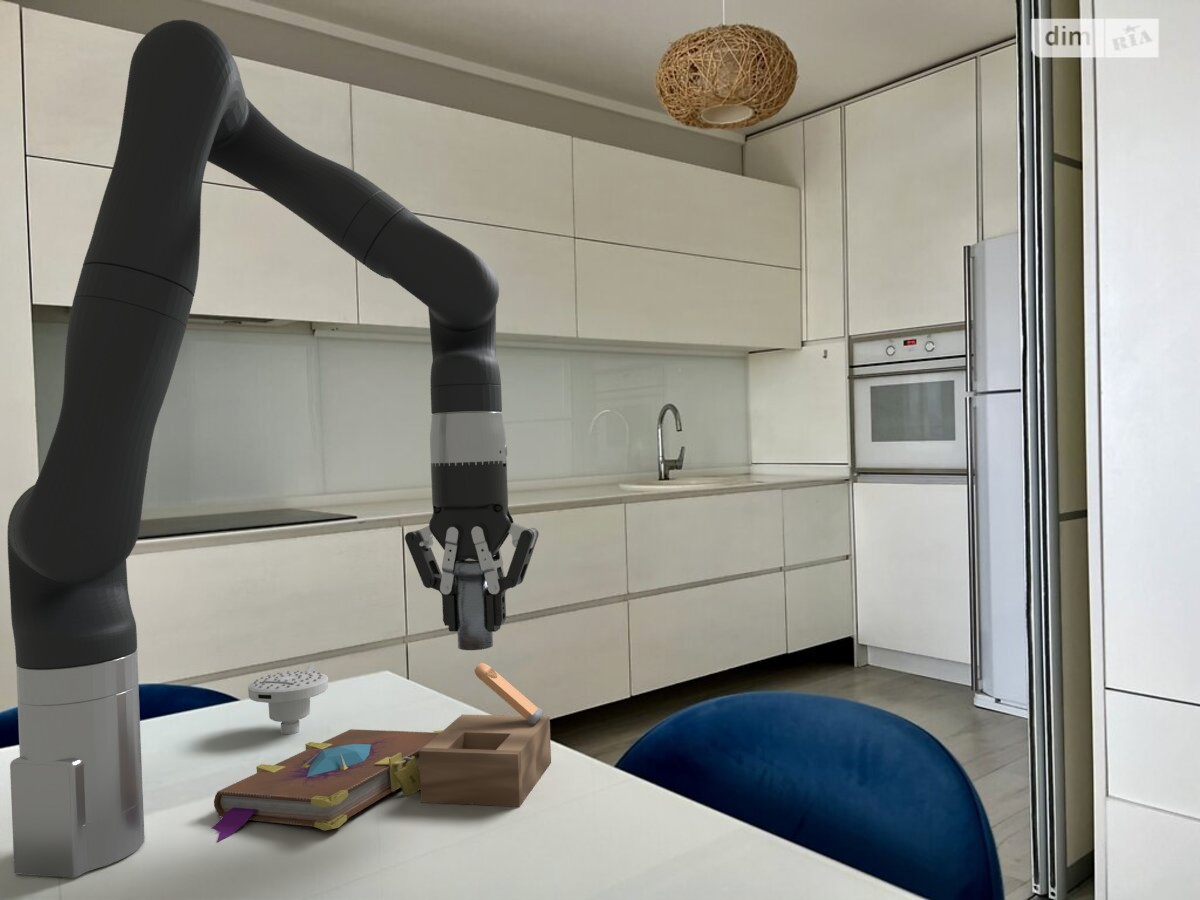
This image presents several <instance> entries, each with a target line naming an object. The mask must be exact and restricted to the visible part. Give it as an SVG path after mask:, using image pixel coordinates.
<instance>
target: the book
mask: <svg viewBox="0 0 1200 900" xmlns="http://www.w3.org/2000/svg"><path fill="white" fill-rule="evenodd" d="M443 730H444V729H443ZM443 730H433V731H431V732H430V731H429V732H428V731H427V732H426V731H406V730H405V731H404V730H385V729H384V730H383V729H382V730H378V729H355V728H350V729H348V730H346V731H343V732H342V733H339V734H337V735H335V736H333V737H331V738H329V739H327V740H325V741H323V742H317V741H316V742H315V741H314V742H313V741H309V742H307V743H305V750H304V751H301V752H299V753H297V754H295V755H293V756H290V757H289V758H287V759H284V760H282V761H280V762H278V763H275V764H273V765H272V764H265V763H264V764H263V763H261V764H258V765H257V766H256V773H254V774H251V775H250V776H247V777H245V778H243V779H241V780H239V781H236V782H235V783H232V784H230V785H228V786H226V787H224V788H221V789H220V790H217V792H216V794H215V795H214V799H213V806H214V809H215V812H216V813H217V815H218V817H219V816H221V817H220V819H219V820H218V822H217V823H215V824H214V825H213V826H212V827H211V829H212V830H214V831H216V832H215V834H218V837H217V842H216V843H218V842H220V841H222V840H224V839H227V838H228V837H230V836H232V835H234V834H235V833H236V832H237V831H239V829H241V828H242V827H243V826H244V825H245V824H246V822H248V821H253V822H254V821H255V822H264V823H265V822H266V823H274V824H285V825H294V826H302V827H303V826H306V827H314V828H316V829H320V830H322V831H329V830H333V829H339V828H340V827H342V825H343V824H344V823H346V822H347V820H348V819H349V818H351V817H352V816H355V815H356V814H357V813H359V812H361V811H363V810H364V809H366V808H367V807H369V806H371V805H372V804H374V803H376V802H378V801H379V800H381V799H382V798H384V797H386V796H387V795H389V794H391V793H394V792H395V791H397V790H398V789H400V788H401V792H402V794H403V795H404V796H409V795H412V794H416V793H417V792H418V791H419V790H421V784H420V758H419V751H420V750H421V749H422V748H423V747H425V746H426V745H427V744H428V743H429V742H430V741H432V740H433V739H434V738H435V737H436V736H437V735H439V734H440V733H441V732H442V731H443Z"/></svg>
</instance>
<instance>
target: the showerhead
mask: <svg viewBox="0 0 1200 900" xmlns="http://www.w3.org/2000/svg"><path fill="white" fill-rule="evenodd" d="M315 667H316V666H315V665H314V663H310V664H309V665H308V666H307V667H306V669H305V670H304V671H301V670H298V669H297V670H296V671H291V670H287V671H286V672H277V673H276V674H268V675H267V676H261V677H260V678H258V679H257V678H256V679H255V680H254V681H252V682H251V683H249V685H248V686H247V690H248V691H247V692H248V699H250V700H251V701H254V702H257V703H258V702H259V703H267V704H268V717H269V719H270V720H272V721H273V722H279V723H280V731H281V732H280V733H281V734H282V735H291V734H297V733H298V732H300V727H301V726H300V720H302V719H304V718H306V717H308V716H309V715H310V714H311V698H313V697H316V696H319V695H321V694H323V693H325V692H326V691H327V690H328V689H329V677H328V675H326V674H324V673H321V672H318V671H316V670H314V669H315Z"/></svg>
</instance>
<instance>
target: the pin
mask: <svg viewBox="0 0 1200 900" xmlns="http://www.w3.org/2000/svg"><path fill="white" fill-rule="evenodd" d="M493 561H494V560H493ZM484 574H485V573H484V572H482V570H481V566H480V562H479V560H478V561H477V560H473V559H466V560H462V561H456V563H454V572H453V574H452V575H455V580H456V606H457V649H458V650H462V651H480V650H481V651H482V650H486V649H490V648H492V647H493V646H494V632H488V629H487V603H486V595H488V594H489V591H488V587H487V583H486V579H485V575H484Z"/></svg>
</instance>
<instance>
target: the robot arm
mask: <svg viewBox="0 0 1200 900" xmlns="http://www.w3.org/2000/svg"><path fill="white" fill-rule="evenodd" d="M122 115H123V116H122V122H121V129H120V133H119V134H120V136H119V141H118V146H117V150H116V154H115V159H114V162H113V166H112V168H111V169H112V170H111V172H110V175H109V178H108V180H107V181H108V182H107V183H106V184H107V185H106V187H105V190H104V194H103V197H102V200H101V202H100V203H101V204H100V207H99V211H98V214H97V217H96V220H95V225H94V228H93V231H92V236H91V239H90V242H89V244H88V247H87V248H88V249H87V252H86V254H85V255H84V256H85V258H84V260H83V263H82V267H81V270H80V274H79V277H78V281H77V286H76V289H75V292H74V297H73V299H72V305H71V310H70V316H69V321H68V326H67V334H66V335H67V336H66V345H65V354H64V374H63V375H64V379H63V393H62V403H61V408H60V413H59V417H58V422H57V425H56V427H55V431H54V435H53V437H52V439H51V442H50V445H49V448H48V451H47V454H46V456H45V459H44V463H43V464H42V467H41V470H40V472H39V475H38V477H37V479H36V482H35V484H33V485H31V486H30V487H28V488H27V489H26V490H25V491H24V492H22V494H21V495H20V496H19V498H18V499H17V500H16V502H14V505H13V507H12V509H11V511H10V514H9V517H8V520H7V521H8V524H7V534H6V535H7V560H8V561H7V563H8V581H9V582H8V583H9V595H10V597H9V598H10V616H11V619H10V620H11V626H12V627H11V628H12V633H13V638H14V639H13V640H14V641H13V642H14V647H15V648H14V649H15V664H16V667H15V668H16V686H17V687H16V688H17V690H16V691H17V693H16V694H17V716H18V717H17V719H18V743H19V744H18V745H19V746H18V747H19V748H18V749H19V756H18V757H16V758H14V759H12V760H11V762H10V763H9V769H10V773H9V775H10V776H9V777H10V799H11V821H12V822H11V823H12V844H13V845H12V848H13V849H12V850H13V872H14V874H19V875H32V876H45V877H47V876H49V877H62V878H78V877H79V876H82V875H83V874H85V873H87V872H89V871H92V870H95V869H99V868H102V867H106V866H108V865H111V864H113V863H115V862H118V861H120V860H122V859H125V858H126V857H128V856H130V855H131V854H133V853H134V852H136V851H138V850H139V849H140V848H141V847H142V845H143V843H144V842H145V837H146V835H145V817H144V814H145V811H144V794H143V793H144V792H143V771H142V770H143V767H142V766H143V765H142V763H143V762H142V744H141V743H142V742H141V741H142V740H141V738H142V737H141V717H140V696H139V695H140V693H139V691H140V688H139V660H138V633H137V622H136V619H135V617H134V614H133V610H132V606H131V600H130V595H129V588H128V570H127V559H128V558H129V556H130V555H131V554H132V551H134V548H135V546H136V544H137V542H138V538H139V534H140V529H141V521H142V513H143V512H142V511H143V503H144V495H145V488H146V479H147V473H148V465H149V459H150V454H151V453H150V451H151V446H152V440H153V436H154V431H155V428H156V425H157V420H158V419H159V415H160V412H161V409H162V407H163V404H164V401H165V399H166V398H165V397H166V395H167V392H168V389H169V386H170V383H171V380H172V377H173V374H174V371H175V367H176V362H177V360H178V356H179V354H180V350H181V348H182V347H181V346H182V342H183V340H184V336H185V334H186V331H187V330H186V329H187V324H188V321H189V317H190V313H191V310H192V305H193V301H194V297H195V293H196V288H197V283H198V276H199V266H200V250H201V222H202V221H201V220H202V219H201V214H202V213H201V208H202V207H201V206H202V205H201V204H202V187H203V181H204V176H205V171H206V167H207V164H208V162H209V163H210V164H212V165H214V166H216V167H218V168H220V169H221V170H224V171H226V172H228V173H229V174H231V175H233V176H235V177H236V178H239V179H240V180H242V181H244V182H245V183H247V184H249V185H250V186H252V187H253V188H255V189H257V190H259V191H260V192H262V193H264V194H265V195H267V196H268V197H269V198H271V199H272V200H274V201H275V202H277V203H279V204H280V205H282V206H283V207H285V208H286V209H288V210H289V211H291V212H292V213H293V214H294V215H296V216H297V217H299V218H300V219H302V220H303V221H304V222H306V223H307V224H309V225H310V226H311V227H312V228H314V229H315V230H316V231H318V232H319V233H320V234H322V235H323V236H324V237H325V238H327V239H328V240H330V241H331V242H332V243H333V244H334V245H336V246H338V248H340V249H342V250H343V251H344V252H345V253H347V254H349V255H350V256H351V257H352V258H354V259H355V260H357V261H358V262H359V263H360V264H362V265H363V266H365V267H366V268H367V269H369V270H370V271H372V272H374V273H375V274H376V275H379V276H380V277H383V278H385V279H390V280H393V282H395V283H397V285H399V286H401V287H402V289H404V290H406V291H407V292H408V293H410V294H411V295H412V296H414V297H415V298H416V299H417V300H419V302H421V303H422V304H424V306H426V307H427V308H428V309H427V310H428V319H429V332H430V345H431V353H432V354H431V355H432V363H431V369H430V409H431V410H430V411H431V423H430V432H429V449H430V452H429V453H430V473H431V474H430V476H431V503H432V509H433V510H432V515H431V518H430V520H429V523H428V525H427V526H425V527H423V528H420V529H418V530H413V531H409V532H407V533H406V534H405V535H404V540H405V543H406V546H407V549H408V551H409V553H410V555H411V558H412V560H413V562H414V565H415V569H416V570H417V572H418V574H419V577H420V581H421V582H422V585H423V586H424V587H425V588H427V589H433V590H436V591H438V592H439V593H440V594H441V598H442V599H441V601H442V622H443V623H444V626H447V628H448V631H449V632H454V633H455V632H457V606H456V580H455V575H452V574H453V572H454V563H456V561H462V560H466V559H473V560H477V561H478V560H479V562H480V566H481V570H482V572H484V573H485V574H484V575H485V579H486V583H487V587H488V591H489V594H488V595H486V603H487V629H488V632H493V633H496V632H498V631H500V629H501V627H502V625H504V624H505V622H506V618H507V610H506V609H507V608H506V605H507V604H506V592H507V590H508V589H513V588H515V587H517V586H518V585H520V584H522V583H523V582H524V579H525V576H526V573H527V570H528V567H529V564H530V561H531V559H532V556H533V553H534V549H535V546H536V543H537V541H538V537H539V531H538V529H537V528H536V527H530V528H528V527H525V526H524V525H523V526H522V525H520V524H517V523H515V522H514V519H513V517H512V515H511V513H510V511H509V496H508V495H509V494H508V492H509V491H508V489H509V488H508V467H507V465H508V463H507V456H508V446H507V442H506V440H507V439H506V429H505V425H504V418H503V403H502V401H503V398H502V379H501V370H500V366H499V363H498V359H497V304H498V301H499V297H500V287H499V282H498V278H497V276H496V274H495V272H494V270H493V269H492V268H491V266H490V265H489V264H488V263H487V261H484V259H483V258H481V257H480V256H479V255H477V254H476V253H475V252H474V251H473V250H472V249H470V248H468V247H467V246H465V245H463V244H462V243H460V242H458V241H457V240H455V239H453V238H452V237H450V236H449V235H447V234H445V233H443V232H441V231H440V230H439V229H436V228H434V227H433V226H431V225H429V224H427V223H425V222H424V221H423V220H421V219H420V218H419V217H418V216H416V215H415V214H414V213H413V212H412V211H411V210H409V209H408V208H406V206H405V205H403V204H402V203H401V202H399V201H397V200H396V199H395V198H394V197H392V196H391V195H390V194H388V193H387V192H386V191H385V190H383V189H382V188H380V187H379V186H377V185H376V184H375V183H374V182H372V181H371V180H370V179H368V178H366V177H364V176H363V175H361V174H359V173H358V172H357V171H354V170H353V169H351V168H348V167H346V166H345V165H342V164H341V163H338V162H336V161H333V160H331V159H329V158H326V157H325V156H323V155H320V154H318V153H316V152H313V151H311V150H310V149H307V148H306V147H305V146H303V145H301V144H299V143H298V142H296V141H295V140H293V139H292V138H290V136H287V135H286V134H285V133H283V132H282V131H281V130H280V129H279V128H278V127H276V126H275V125H274V124H273V123H272V121H270V120H269V119H267V117H266V116H265V115H263V113H262V112H260V111H259V109H257V107H256V106H255V105H254V104H253V103H252V102H251V101H250V100H249V98H247V96H246V92H245V89H244V85H243V82H242V78H241V73H240V71H239V68H238V65H237V62H236V61H235V58H234V57H233V55H232V52H231V51H230V49H229V48H228V47H227V45H226V43H224V41H223V40H222V39H221V38H220V36H219V35H218V34H216V32H214V31H213V30H212V29H210V28H208V27H207V26H206V25H204V24H202V23H201V22H200V23H199V22H197V21H194V20H188V19H173V20H170V21H166V22H163V23H161V24H159V25H157V26H155V27H153V28H152V29H151V30H149V32H147V33H146V34H145V35H144V36H143V38H142V39H141V40H140V41H139V42H138V44H137V46H136V48H135V49H134V52H133V54H132V56H131V61H130V65H129V72H128V78H127V86H126V94H125V102H124V108H123V114H122ZM509 535H511V538H512V540H511V544H512V546H513V547H514V548H515V550H514V552H513V556H512V558H511V562H510V565H509V568H508V570H507V573H506V575H505V571H504V559H503V556H502V552H501V548H502V545H503V544H504V543H505V541H506V539H507V538H508V536H509ZM433 538H434V539H435V540H436V541H437V542H438V543H439V545H440V547H441V548H442V549H443V551H444V552H443V558H442V564H441V569H440V567H439V564H438V562H437V559H436V557H435V555H434V551H433V550H432V547H433V544H434V541H433ZM493 560H494V561H493ZM441 570H442V571H441Z"/></svg>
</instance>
